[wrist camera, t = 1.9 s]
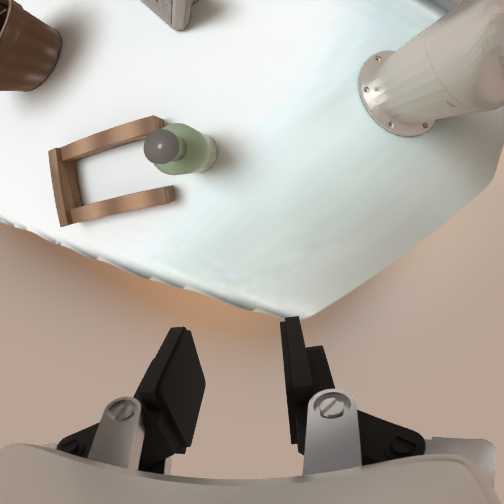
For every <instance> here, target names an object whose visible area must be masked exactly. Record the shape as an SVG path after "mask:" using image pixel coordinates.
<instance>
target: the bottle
mask: <svg viewBox="0 0 504 504" xmlns="http://www.w3.org/2000/svg"><path fill="white" fill-rule="evenodd" d="M144 153H145V156H146V157H147V159H148V160H149V161H151V162H152V163H154V165H155V166H156V167H157V168H158V169H159V170H160V171H161V172H163V173H165V174H169V175H180V174H189V173H198V172H204V171H206V170H208V169H209V168H210V167H212V165H213V164H214V163H215V161H216V158H217V147H216V144H215V143H214V141H213V140H212V139H211V138H210V137H208V136H206V135H204V134H202V133H201V132H199V131H197V130H195V129H193V128H191V127H189V126H187V125H185V124H180V123H174V124H170V125H167V126H165V127H163V128H162V129H158V130H155V131H153V132H152V133H150V134H149V135H148V137H147V138H146V140H145V143H144Z"/></svg>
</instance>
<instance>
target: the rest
mask: <svg viewBox="0 0 504 504" xmlns="http://www.w3.org/2000/svg"><path fill="white" fill-rule="evenodd" d="M163 127H164V124H163V119H161V118H158V117H156V116H154V115H153V116H150V117H146V118H143V119H139V120H136V121H133V122H129V123H126V124H123V125H120V126H117V127H114V128H111V129H108V130H105V131H102V132H99V133H96V134H94V135H91V136H88V137H86V138H83V139H81V140H78V141H76V142H73V143H71V144H68V145H66V146H63V147H61V148H54V149H52V150H50V151H48V153H49V162H50V170H51V178H52V184H53V191H54V197H55V202H56V208H57V213H58V218H59V222H60V227H64V226H68V225H70V224H74V223H78V222H82V221H86V220H91V219H95V218H99V217H104V216H108V215H113V214H117V213H122V212H127V211H132V210H137V209H142V208H147V207H152V206H157V205H162V204H167V203H170V202H172V201H174V200H175V197H174V191H173V185H171V186H166V187H161V188H157V189H152V190H147V191H142V192H138V193H133V194H129V195H125V196H120V197H116V198H112V199H108V200H104V201H100V202H96V203H92V204H88V205H85V206H82V202H81V197H80V191H79V185H78V179H77V172H76V165H75V161H76V160H79V159H82V158H84V157H87V156H90V155H93V154H96V153H99V152H102V151H105V150H108V149H111V148H115V147H118V146H121V145H125V144H128V143H131V142H135V141H139V140H142V139H146V138H147V137H148V135H149V134H150V133H152V132H153V131H155V130H158V129H162V128H163Z"/></svg>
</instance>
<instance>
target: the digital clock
mask: <svg viewBox="0 0 504 504" xmlns="http://www.w3.org/2000/svg"><path fill="white" fill-rule="evenodd" d="M140 1H141V2H143V3H144V4H145V5H146V6H147V7H148V8H150V9H151V10H152V11H153V12H154V13H155V14H156V15H158V16H159V17H160V18H161V19H162V20H163V21H164V22H165V23H166V24H168V25H169V26H170V27H171V28H172V29H176V30H183V29H184V28H186V26H187V25H188V23H189V19H190V12H191V5H192V4H193V3H195V2H197V1H198V0H140Z"/></svg>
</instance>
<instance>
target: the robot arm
mask: <svg viewBox="0 0 504 504" xmlns="http://www.w3.org/2000/svg"><path fill="white" fill-rule="evenodd" d="M358 87H359V93H360V96H361V100H362V102H363V104H364V106H365V108H366V110H367V111H368V113H369V114H370V116H371V117H372V118H373V119H374V120H375V121H376V122H377V123H378V124H379V125H380V126H382V127H383V128H384V129H386V130H388V131H389V132H391V133H394V134H397V135H400V136H416V135H420V134H422V133H425V132H426V131H428V130H429V129H430V128H431V127H432V126H433V124H434V123H435V121H436V120H438V119H443V118H448V117H453V116H459V115H465V114H471V113H477V112H484V111H489V110H494V109H497V108H499V107H501V106H502V105H504V0H463V1H462V2H460V3H459V4H458V5H457V6H456V7H454V8H453V9H452V10H450V11H449V12H448V13H447V14H445V15H444V16H443V17H441V18H440V19H439V20H437V21H436V22H434V23H433V24H432V25H430V26H429V27H428V28H426V29H425V30H423V31H422V32H421V33H419V34H418V35H417V36H415V37H414V38H413V39H411V40H410V41H409V42H407V43H406V44H405V45H404V46H402V47H401V48H400V49H398V50H397V51H382V52H378V53H376V54H374V55H372V56H371V57H370V58H369V59H368V60H367V61H366V62H365V63H364V64H363V66H362V68H361V70H360V73H359V78H358ZM364 90H366V92H365V91H364ZM389 124H390V126H389ZM280 328H281V339H282V350H283V361H284V373H285V384H286V394H287V404H288V414H289V423H290V434H291V444H298V452H299V453H301V454H303V455H304V463H303V474H302V476H296V477H285V478H272V479H271V478H270V479H205V478H191V477H181V476H180V477H179V476H171V475H170V469H171V456H172V455H173V454H174V453H177V454H185V452H186V448H187V447H190V446H191V443H192V439H193V435H194V431H195V427H196V422H197V419H198V414H199V410H200V406H201V402H202V398H203V394H204V390H205V378H204V374H203V371H202V368H201V365H200V362H199V359H198V355H197V352H196V348H195V344H194V341H193V337H192V334H191V331H190V330H186V328H185V327H175V328H171V329H170V330H169V332H168V334H167V336H166V338H165V340H164V342H163V344H162V346H161V347H160V349H159V351H158V353H157V355H156V357H155V358H154V359H153V360H152V362H151V364H150V366H149V368H148V370H147V371H146V373H145V375H144V377H143V379H142V381H141V383H140V385H139V387H138V389H137V391H136V393H135V395H134V397H133V398H132V397H121V398H118V399H115V400H114V401H112V402H110V404H108V405H107V407H106V409H105V410H104V413H103V416H102V418H101V421H100V423H97V424H95V425H93V426H90V427H88V428H86V429H84V430H81V431H79V432H77V433H74V434H72V435H70V436H67V437H66V438H64V439H62V440H61V441H60V442H59V444H58V445H57V444H56V443H54V444H48V445H42V446H40V445H33V444H10V445H6V446H4V447H2V448H1V449H0V504H501V502H500V500H499V498H498V496H497V494H496V492H495V490H494V489H493V486H494V477H495V476H494V475H495V466H496V449H495V447H494V445H493V444H492V443H491V442H489V441H488V440H484V439H459V438H442V437H432V439H431V440H427V439H423V437H422V436H421V435H420V434H419V433H417V432H415V431H413V430H410V429H407V428H404V427H402V426H399V425H396V424H393V423H390V422H388V421H385V420H382V419H380V418H377V417H374V416H372V415H369V414H367V413H364V412H361V411H359V410H357V406H356V401H355V398H354V397H353V396H352V395H351V394H350V393H348V392H347V391H344V390H340V389H335V386H334V383H333V379H332V376H331V373H330V369H329V365H328V362H327V359H326V355H325V352H324V349H323V346H314V347H307V348H305V344H304V339H303V334H302V329H301V325H300V320H299V316H295V317H287V318H285V321H284V322H280Z"/></svg>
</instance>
